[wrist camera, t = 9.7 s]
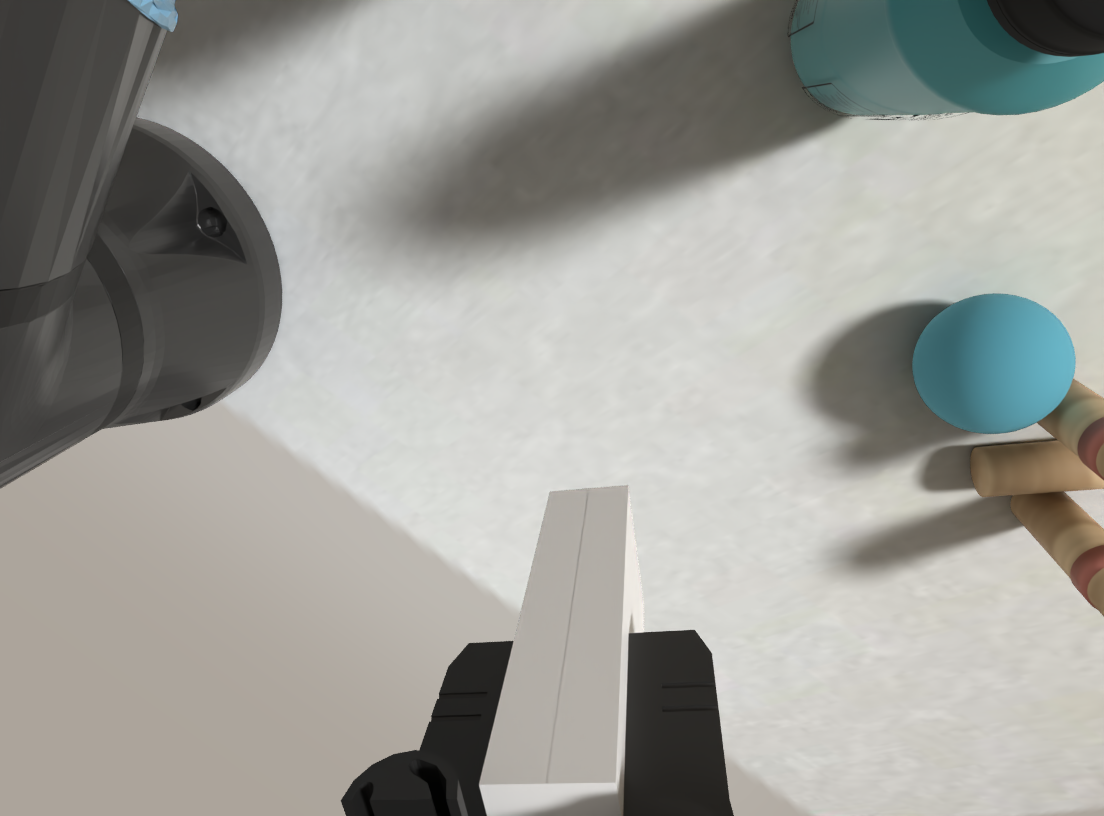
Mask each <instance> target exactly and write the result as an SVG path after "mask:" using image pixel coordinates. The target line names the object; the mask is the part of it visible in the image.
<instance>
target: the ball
mask: <svg viewBox="0 0 1104 816" xmlns="http://www.w3.org/2000/svg"><path fill="white" fill-rule="evenodd" d="M912 368H913V377H914V382H915V385H916V388H917V390H918V392H919V394H920V396H921V398H922V400H923V401H924V402H925V404H926V405H927V406H928V407H929V408H930V409H931V411H932V412H934V413H935V414H936V415H937V416H938V417H940V418H941V419H943V420H944V421H946V422H947V423H949V424H951V425H953V426H955V427H958V428H961V429H963V430H967V431H971V432H976V433H983V434H999V433H1008V432H1013V431H1017V430H1020V429H1023V428H1026V427H1028V426H1030V425H1033V424H1035V423H1036V422H1038V421H1040V420H1041V419H1043V418H1044V417H1046V416H1047V415H1048V414H1049V413H1051V412H1052V411H1053V410H1054V409H1055V408H1056V407H1057V406H1058V405H1059V404H1060V403H1061V401H1062V400H1063V398H1064V397H1065V396H1066V394H1067V392H1068V390H1069V388H1070V386H1071V383H1072V380H1073V377H1074V372H1075V352H1074V347H1073V344H1072V341H1071V338H1070V336H1069V334H1068V332H1067V330H1066V328H1065V327H1064V326H1063V324H1062V323H1061V322H1060V320H1059V319H1058V318H1057V317H1056V316H1055V315H1054V314H1053V313H1051V312H1050V311H1049V310H1047V309H1046V308H1045V307H1043V306H1041V305H1039V304H1038V303H1036V302H1033V301H1031V300H1029V299H1026V298H1022V297H1019V296H1015V295H1008V294H984V295H978V296H973V297H970V298H967V299H963V300H961V301H959V302H957V303H954V304H953V305H951V306H949V307H947V308H946V309H944V310H943V311H942V312H940V313H939V314H938V315H937V316H935V317H934V318H933V319H932V320H931V321H930V322H929V324H928V325H927V326H926V327H925V329H924V330H923V332H922V334H921V335H920V337H919V339H918V342H917V344H916V347H915V350H914V354H913V362H912Z"/></svg>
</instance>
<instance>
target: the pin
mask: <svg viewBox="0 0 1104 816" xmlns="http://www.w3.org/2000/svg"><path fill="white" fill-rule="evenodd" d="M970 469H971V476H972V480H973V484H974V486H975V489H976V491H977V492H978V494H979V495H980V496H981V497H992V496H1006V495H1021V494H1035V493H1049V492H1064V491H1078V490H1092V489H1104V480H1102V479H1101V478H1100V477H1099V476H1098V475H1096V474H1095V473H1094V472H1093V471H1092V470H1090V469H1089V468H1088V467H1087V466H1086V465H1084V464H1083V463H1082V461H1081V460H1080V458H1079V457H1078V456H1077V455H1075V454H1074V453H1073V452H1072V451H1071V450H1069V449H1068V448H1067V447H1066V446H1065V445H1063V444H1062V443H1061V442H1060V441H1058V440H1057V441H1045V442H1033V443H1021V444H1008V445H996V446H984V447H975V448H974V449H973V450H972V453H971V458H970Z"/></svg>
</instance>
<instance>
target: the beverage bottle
mask: <svg viewBox="0 0 1104 816" xmlns="http://www.w3.org/2000/svg"><path fill="white" fill-rule="evenodd" d="M796 1H797V0H796ZM794 3H795V2H794ZM797 3H798V4H797V5H796V6H797V7H796V8H795V9H796V10H795V13H794V17H793V21H792V27H791V34H790V35H788V37H790V36H791V52H792V58H793V62H794V66H795V68H796V71H797V73H798V76H799V77H800V79H801V81H802V83H803V84H804V86H805V87H802V88H803V90H804V89H805V88H807V90H808V91H809V92H810V93H811V94H812V95H813V96H814V97H815V98H816V99H817V100H819V101H820V102H821V103H820V104H822V103H823V105H824V107H825V105H826V106H827V107H828V108H829V107H830V109H829V111H830V110H831V108H832V110H831V111H833V109H834V111H835V110H837V111H840V112H843V113H848V114H854V115H883V116H884V115H890V116H892V115H913V117H915V116H918V115H926V116H927V115H929V116H931V114H939V117H941V115H940V114H942V113H946V116H949V115H947V114H948V113H950V115H951V113H964V112H968V113H969V112H976V113H980V114H991V115H1019V114H1025V113H1031V112H1037V111H1041V110H1044V109H1048V108H1052V107H1055V106H1058V105H1060V104H1063V103H1065V102H1068V101H1070V100H1072V99H1075V98H1076V97H1078V96H1080V95H1082V94H1084V93H1086V92H1088V91H1090V90H1091V89H1093V88H1094V87H1096V86H1097V85H1099V84H1100V83H1102V82H1103V81H1104V0H799V1H798V2H797ZM795 4H796V3H795ZM793 6H794V5H793ZM792 9H793V8H792ZM791 12H792V11H791ZM793 12H794V10H793ZM792 16H793V13H792ZM790 17H791V15H790ZM791 19H792V18H791ZM789 21H790V20H789ZM790 22H791V21H790ZM788 28H789V26H788ZM805 93H806V92H805ZM811 94H810V95H811ZM812 95H811V96H812ZM815 98H814V99H815ZM817 100H816V101H817ZM817 103H818V101H817ZM817 103H816V104H817ZM818 104H819V103H818ZM821 106H822V105H821ZM821 106H820V107H821ZM822 107H823V106H822ZM828 108H827V110H828ZM823 109H824V108H823ZM825 110H826V108H825ZM837 111H836V113H837ZM840 112H839V113H840ZM833 114H834V113H833ZM965 114H966V113H965ZM854 115H853V116H854ZM961 115H962V114H961ZM933 116H934V115H933ZM933 116H932V117H933ZM957 116H958V115H957ZM884 117H885V116H884ZM887 117H889V116H887ZM952 117H953V116H952ZM846 118H847V117H846ZM896 118H897V119H898V118H902V117H896ZM910 118H911V117H910ZM919 118H920V117H919ZM925 118H926V117H925ZM936 118H937V117H936ZM948 118H949V117H948ZM851 119H852V118H851ZM897 119H893V117H892V119H882V118H881V119H875V118H874V119H867V120H897ZM904 119H905V118H904ZM913 119H914V118H913ZM917 119H918V118H916V119H914V120H917ZM923 119H924V118H923ZM927 119H928V118H927ZM930 119H931V118H930ZM941 119H942V118H941ZM905 120H906V119H905ZM907 120H908V119H907ZM910 120H912V119H910ZM921 120H922V119H921ZM924 120H926V119H924ZM934 120H935V119H934Z"/></svg>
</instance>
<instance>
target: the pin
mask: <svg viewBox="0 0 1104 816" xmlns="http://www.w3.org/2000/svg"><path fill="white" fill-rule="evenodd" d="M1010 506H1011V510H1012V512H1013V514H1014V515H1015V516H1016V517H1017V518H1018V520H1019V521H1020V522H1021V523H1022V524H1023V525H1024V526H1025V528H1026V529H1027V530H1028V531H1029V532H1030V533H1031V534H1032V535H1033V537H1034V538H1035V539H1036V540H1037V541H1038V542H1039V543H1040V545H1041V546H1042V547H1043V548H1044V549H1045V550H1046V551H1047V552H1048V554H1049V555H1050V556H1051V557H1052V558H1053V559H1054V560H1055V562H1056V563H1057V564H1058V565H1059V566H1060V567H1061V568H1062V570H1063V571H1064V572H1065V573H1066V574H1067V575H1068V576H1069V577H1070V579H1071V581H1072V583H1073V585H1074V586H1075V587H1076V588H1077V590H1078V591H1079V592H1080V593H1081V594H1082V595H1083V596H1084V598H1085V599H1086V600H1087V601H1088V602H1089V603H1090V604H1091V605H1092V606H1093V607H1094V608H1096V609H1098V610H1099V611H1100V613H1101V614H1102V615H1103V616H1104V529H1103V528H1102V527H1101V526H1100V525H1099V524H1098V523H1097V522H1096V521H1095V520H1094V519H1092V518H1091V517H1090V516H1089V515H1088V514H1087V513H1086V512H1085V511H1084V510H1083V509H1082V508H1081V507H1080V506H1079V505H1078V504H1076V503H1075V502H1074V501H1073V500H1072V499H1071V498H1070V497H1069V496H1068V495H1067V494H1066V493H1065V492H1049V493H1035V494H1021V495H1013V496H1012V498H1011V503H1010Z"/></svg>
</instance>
